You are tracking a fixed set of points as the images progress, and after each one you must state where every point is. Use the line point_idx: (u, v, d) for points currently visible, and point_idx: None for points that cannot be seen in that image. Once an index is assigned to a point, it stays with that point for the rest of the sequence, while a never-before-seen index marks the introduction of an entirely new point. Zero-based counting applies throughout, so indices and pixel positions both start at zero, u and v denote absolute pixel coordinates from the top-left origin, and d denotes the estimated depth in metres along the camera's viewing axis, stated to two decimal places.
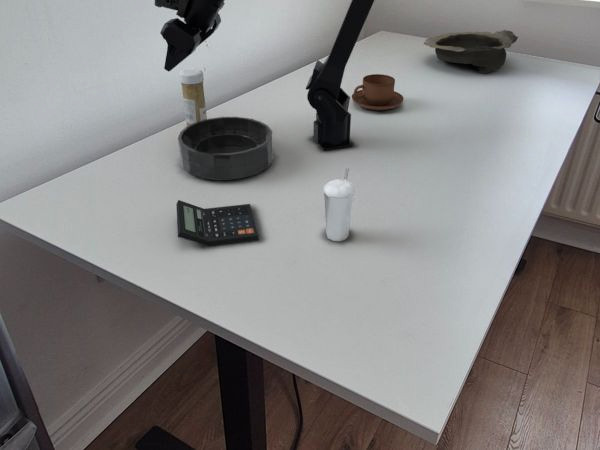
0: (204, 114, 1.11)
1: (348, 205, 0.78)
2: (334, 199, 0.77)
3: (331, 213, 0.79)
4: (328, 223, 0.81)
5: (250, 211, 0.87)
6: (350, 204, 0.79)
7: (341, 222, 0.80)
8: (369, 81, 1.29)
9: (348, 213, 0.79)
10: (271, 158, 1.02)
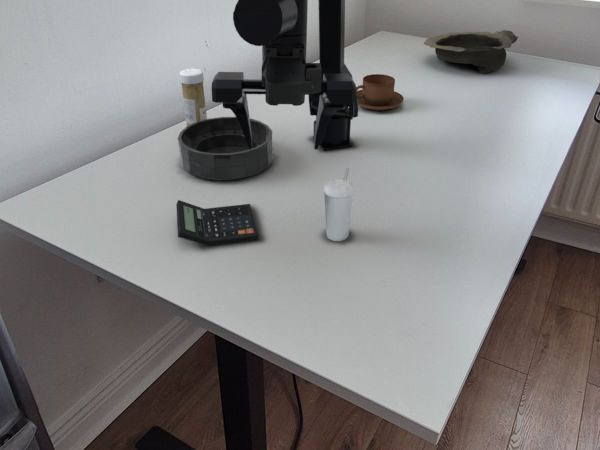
0: (204, 114, 1.11)
1: (348, 205, 0.78)
2: (334, 199, 0.77)
3: (331, 213, 0.79)
4: (328, 223, 0.81)
5: (250, 211, 0.87)
6: (350, 204, 0.79)
7: (341, 222, 0.80)
8: (369, 81, 1.29)
9: (348, 213, 0.79)
10: (271, 158, 1.02)
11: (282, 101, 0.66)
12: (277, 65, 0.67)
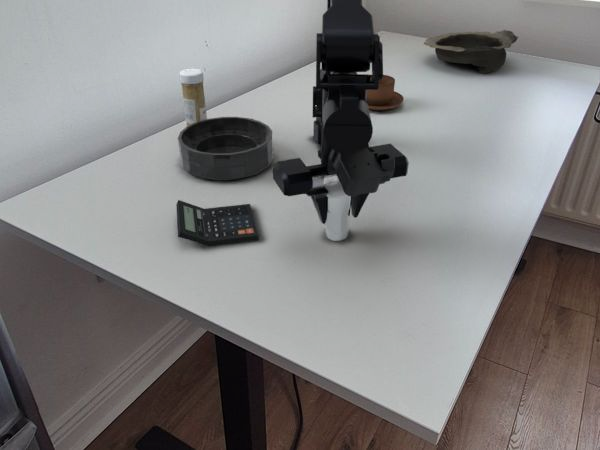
0: (204, 114, 1.11)
1: (346, 205, 0.78)
2: (332, 199, 0.77)
3: (330, 213, 0.79)
4: (327, 223, 0.81)
5: (250, 211, 0.87)
6: (348, 203, 0.78)
7: (340, 222, 0.80)
8: None
9: (347, 212, 0.79)
10: (271, 158, 1.02)
11: (362, 192, 0.71)
12: (350, 158, 0.71)
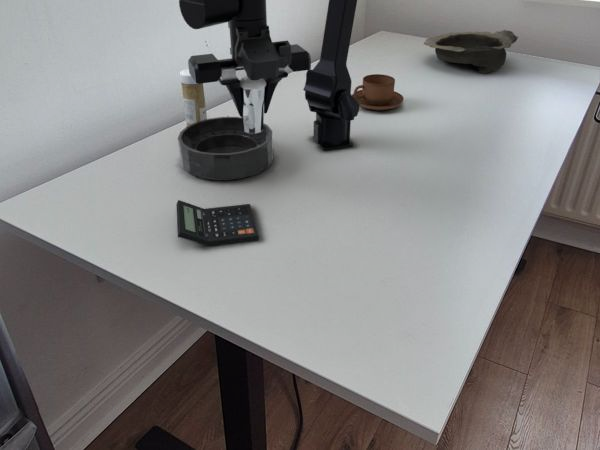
0: (204, 114, 1.11)
1: (260, 97, 0.88)
2: (247, 90, 0.87)
3: (246, 104, 0.88)
4: (244, 116, 0.90)
5: (250, 211, 0.87)
6: (262, 96, 0.88)
7: (255, 114, 0.89)
8: (369, 81, 1.29)
9: (261, 105, 0.89)
10: (271, 158, 1.02)
11: (263, 76, 0.80)
12: (252, 46, 0.80)
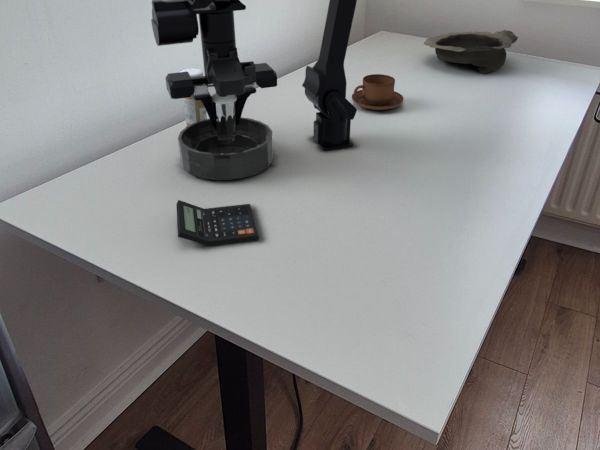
0: (204, 114, 1.11)
1: (231, 110, 0.97)
2: (219, 105, 0.96)
3: (218, 117, 0.98)
4: (216, 127, 0.99)
5: (250, 211, 0.87)
6: (233, 110, 0.97)
7: (226, 126, 0.98)
8: (369, 81, 1.29)
9: (232, 118, 0.98)
10: (271, 158, 1.02)
11: (230, 93, 0.89)
12: (220, 66, 0.89)
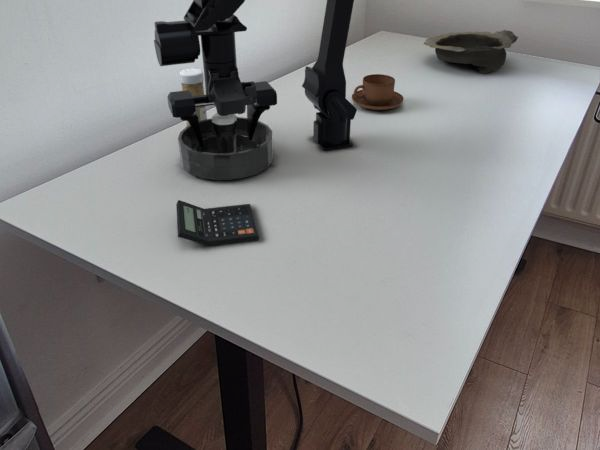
0: (204, 114, 1.11)
1: (231, 131, 0.99)
2: (219, 126, 0.98)
3: (219, 138, 1.00)
4: (218, 147, 1.01)
5: (250, 211, 0.87)
6: (233, 130, 0.99)
7: (227, 145, 1.00)
8: (369, 81, 1.29)
9: (232, 138, 1.00)
10: (271, 158, 1.02)
11: (231, 112, 0.91)
12: (222, 86, 0.91)
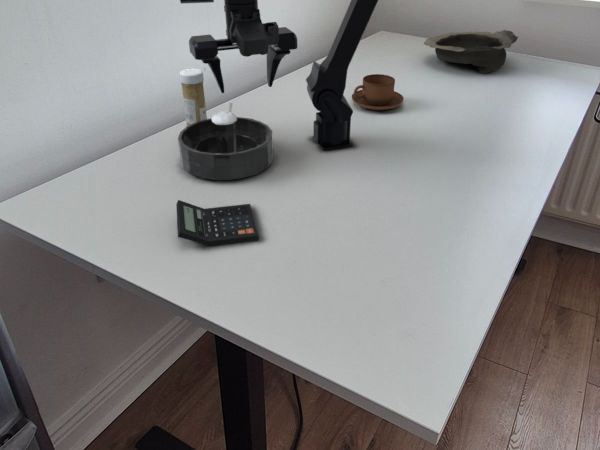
0: (204, 114, 1.11)
1: (231, 131, 0.99)
2: (219, 126, 0.98)
3: (219, 138, 1.00)
4: (218, 147, 1.01)
5: (250, 211, 0.87)
6: (233, 130, 0.99)
7: (227, 145, 1.00)
8: (369, 81, 1.29)
9: (232, 138, 1.00)
10: (271, 158, 1.02)
11: (254, 52, 0.92)
12: (244, 26, 0.92)
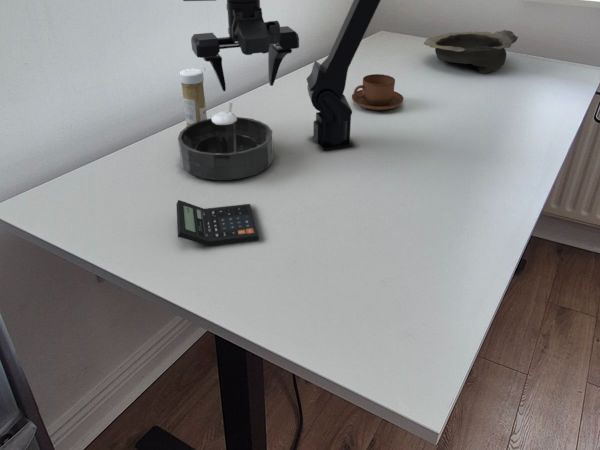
0: (204, 114, 1.11)
1: (231, 131, 0.99)
2: (219, 126, 0.98)
3: (219, 138, 1.00)
4: (218, 147, 1.01)
5: (250, 211, 0.87)
6: (233, 130, 0.99)
7: (227, 145, 1.00)
8: (369, 81, 1.29)
9: (232, 138, 1.00)
10: (271, 158, 1.02)
11: (255, 51, 0.92)
12: (246, 25, 0.92)
